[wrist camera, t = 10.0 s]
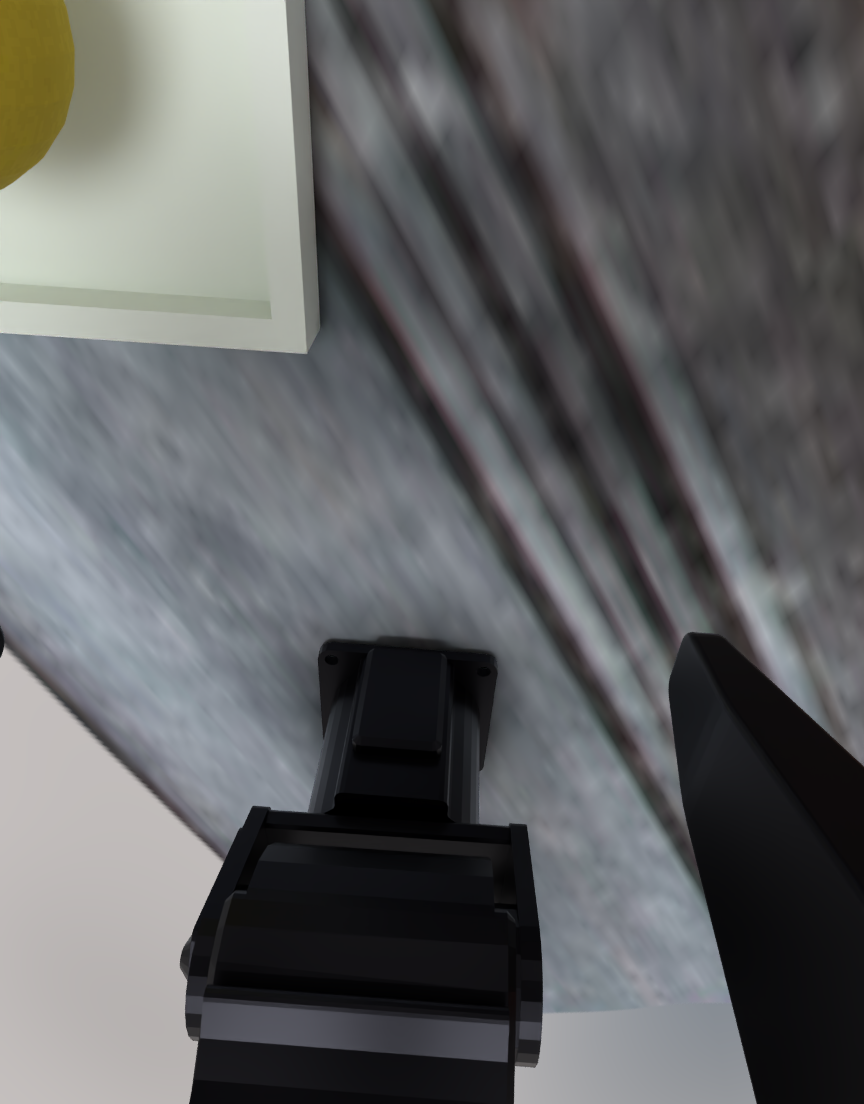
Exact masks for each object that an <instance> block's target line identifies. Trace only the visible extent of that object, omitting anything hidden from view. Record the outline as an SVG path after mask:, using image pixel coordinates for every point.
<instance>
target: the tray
mask: <svg viewBox="0 0 864 1104" xmlns="http://www.w3.org/2000/svg"><path fill="white" fill-rule="evenodd" d="M64 2H65V5H66V7H67V12H68V17H69V22H70V27H71V32H72V37H73V42H74V48H75V81H74V90H73V94H72V98H71V102H70V105H69V109H68V113H67V117H66V121H65V125H64V126H63V128H62V129H61V131H60V133H59V134H58V136H57V137H56V139H55V141H54V142H53V144H52V145H51V147H50V148H49V150H48V152H47V153H46V155H45V156H44V158H43V159H41V160H40V161H39V162H38V163H37V164H36V165H35V166H33V167H32V168H31V169H30V170H28V171H27V172H26V173H25V174H23V175H22V176H21V177H19V178H18V179H17V180H16V181H14V182H13V183H12V184H10V185H9V186H7V187H5V188H4V189H2V190H0V333H10V334H25V335H39V336H54V337H68V338H83V339H97V340H112V341H126V342H141V343H155V344H170V345H184V346H199V347H213V348H228V349H242V350H257V351H271V352H286V353H300V354H307V353H308V351H309V349H310V347H311V345H312V343H313V342H314V340H315V338H316V336H317V334H318V332H319V330H320V309H319V288H318V267H317V246H316V225H315V204H314V184H313V163H312V142H311V121H310V100H309V79H308V59H307V38H306V17H305V0H64Z"/></svg>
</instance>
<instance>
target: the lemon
mask: <svg viewBox="0 0 864 1104" xmlns="http://www.w3.org/2000/svg"><path fill="white" fill-rule="evenodd" d="M74 81H75V48H74V42H73V37H72V32H71V27H70V22H69V17H68V12H67V7H66V5H65V2H64V0H0V190H2V189H4V188H5V187H7V186H9V185H10V184H12V183H13V182H14V181H16V180H17V179H18V178H19V177H21V176H22V175H23V174H25V173H26V172H27V171H28V170H30V169H31V168H32V167H33V166H35V165H36V164H37V163H38V162H39V161H40V160H41V159H43V158H44V156H45V155H46V153H47V152H48V150H49V148H50V147H51V145H52V144H53V142H54V141H55V139H56V137H57V136H58V134H59V133H60V131H61V129H62V128H63V126H64V125H65V121H66V117H67V113H68V109H69V105H70V102H71V98H72V94H73V90H74Z"/></svg>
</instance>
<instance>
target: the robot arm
mask: <svg viewBox="0 0 864 1104" xmlns="http://www.w3.org/2000/svg"><path fill="white" fill-rule="evenodd" d="M3 649H4V634H3V631H2V629H1V626H0V657H1V655H2V652H3ZM329 655H333V656H336V657H331V656H329ZM480 667H487V668H485V669H482V668H480ZM318 668H319V682H320V696H321V711H322V725H323V739H324V742H323V746H322V751H321V755H320V760H319V764H318V769H317V773H316V778H315V782H314V787H313V791H312V796H311V800H310V805H309V809H308V813H307V812H292V811H278V810H271V808H270V807H262V806H253V807H252V808H251V810H250V813H249V815H248V817H247V819H246V821H245V824H244V826H243V828H240V829H239V831H238V833H237V835H236V837H235V839H234V842H233V844H232V846H231V848H230V850H229V852H228V855H227V857H226V859H225V861H224V863H223V866H222V868H221V870H220V872H219V874H218V876H217V879H216V881H215V883H214V885H213V887H212V889H211V892H210V894H209V896H208V898H207V900H206V903H205V905H204V907H203V909H202V911H201V913H200V916H199V918H198V920H197V922H196V924H195V927H194V929H193V933H192V935H191V937H190V938H189V940H188V941H187V943H186V944H185V946H184V948H183V950H182V954H181V959H180V968H181V970H182V972H183V974H184V976H185V977H186V979H187V981H188V982H187V990H186V1005H185V1018H186V1028H187V1032H188V1036H189V1037H190V1038H191V1039H192V1040H193V1041H198V1048H197V1055H196V1063H195V1070H194V1078H193V1085H192V1092H191V1097H190V1102H189V1104H514V1074H515V1073H514V1072H515V1066H523V1067H534V1068H535V1067H536V1065H537V1063H538V1059H539V1053H540V1045H541V1031H542V1009H543V976H542V952H541V938H540V928H539V920H538V912H537V903H536V895H535V887H534V879H533V871H532V863H531V855H530V847H529V839H528V831H527V825H526V824H512V823H509V826H497V825H483V824H479V771H481V770H482V769H483V766H484V760H485V753H486V746H487V739H488V733H489V726H490V719H491V713H492V706H493V699H494V692H495V686H496V679H497V661H496V659H495V658H494V657H492V656H491V655H487V654H478V653H465V652H452V651H439V650H426V649H413V648H400V647H387V646H374V645H361V644H348V643H335V642H331V643H326V644H324V645H323V646H322V647H321V648H320V652H319V656H318ZM669 702H670V709H671V717H672V725H673V733H674V741H675V749H676V757H677V765H678V773H679V781H680V788H681V795H682V802H683V807H684V812H685V817H686V821H687V826H688V830H689V834H690V838H691V842H692V846H693V850H694V854H695V858H696V862H697V866H698V870H699V874H700V878H701V882H702V886H703V890H704V894H705V898H706V902H707V906H708V910H709V914H710V918H711V922H712V926H713V930H714V934H715V938H716V942H717V946H718V950H719V954H720V958H721V962H722V966H723V970H724V974H725V978H726V982H727V986H728V990H729V994H730V998H731V1002H732V1006H733V1010H734V1014H735V1018H736V1022H737V1026H738V1030H739V1034H740V1038H741V1042H742V1046H743V1051H744V1054H745V1058H746V1063H747V1066H748V1071H749V1075H750V1079H751V1083H752V1086H753V1091H754V1095H755V1099H756V1103H757V1104H864V766H863V765H862V764H861V763H859V762H858V761H857V760H856V759H855V758H854V757H853V756H852V755H851V754H850V753H849V752H848V751H846V750H845V749H844V748H843V747H842V746H841V745H840V744H839V743H838V742H837V741H836V740H835V739H833V738H832V737H831V736H830V735H829V734H828V733H827V732H826V731H825V730H824V729H823V728H822V727H821V726H819V725H818V724H817V723H816V722H815V721H814V720H813V719H812V718H811V717H810V716H809V715H808V714H806V713H805V712H804V711H803V710H802V709H801V708H800V707H799V706H798V705H797V704H796V703H795V702H793V701H792V700H791V699H790V698H789V697H788V696H787V695H786V694H785V693H784V692H783V691H782V690H780V689H779V688H778V687H777V686H776V685H775V684H774V683H773V682H772V681H771V680H770V679H769V678H767V677H766V676H765V675H764V674H763V673H762V672H761V671H760V670H759V669H758V668H757V667H756V666H754V665H753V664H752V663H751V662H750V661H749V660H748V659H747V658H746V657H745V656H744V655H743V654H741V653H740V652H739V651H738V650H737V649H736V648H735V647H734V646H733V645H732V644H731V643H730V642H729V641H727V640H726V639H725V638H724V637H723V636H721V635H719V634H713V633H697V632H690V633H688V634H686V635H685V637H684V638H683V640H682V642H681V645H680V648H679V651H678V654H677V657H676V660H675V663H674V666H673V669H672V672H671V675H670V680H669Z"/></svg>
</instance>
